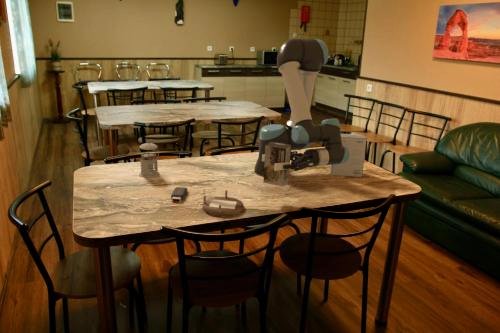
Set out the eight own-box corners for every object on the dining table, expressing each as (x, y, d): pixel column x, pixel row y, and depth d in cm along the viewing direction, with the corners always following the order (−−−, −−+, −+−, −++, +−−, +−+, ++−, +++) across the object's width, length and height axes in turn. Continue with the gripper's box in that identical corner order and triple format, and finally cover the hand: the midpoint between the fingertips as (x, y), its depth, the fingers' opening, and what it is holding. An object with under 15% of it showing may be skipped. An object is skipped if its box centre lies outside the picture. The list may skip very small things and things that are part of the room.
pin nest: (207, 198, 168) (207, 188, 167) (245, 201, 167) (245, 191, 165) (198, 215, 153) (198, 204, 152) (240, 218, 152) (241, 207, 150)
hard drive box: (359, 172, 208) (364, 134, 202) (362, 177, 201) (367, 138, 195) (329, 170, 210) (333, 132, 203) (330, 175, 202) (334, 136, 196)
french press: (134, 175, 190) (131, 123, 182) (149, 168, 201) (147, 118, 193) (152, 179, 187) (150, 126, 179) (166, 171, 197) (164, 121, 189)
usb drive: (187, 192, 175) (187, 186, 174) (182, 203, 163) (182, 197, 163) (175, 191, 175) (175, 185, 174) (169, 203, 164) (169, 196, 163)
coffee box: (289, 182, 167) (292, 144, 162) (283, 187, 162) (286, 148, 156) (268, 177, 171) (271, 140, 165) (262, 182, 165) (265, 144, 160)
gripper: (330, 175, 162) (281, 181, 153) (300, 157, 182) (255, 162, 173) (332, 157, 159) (282, 162, 151) (302, 141, 179) (256, 145, 170)
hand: (268, 162), depth 162 cm, fingers closed on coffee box, 10 cm apart
